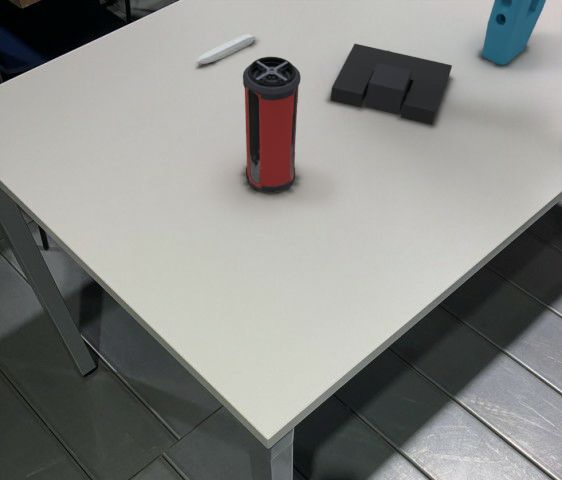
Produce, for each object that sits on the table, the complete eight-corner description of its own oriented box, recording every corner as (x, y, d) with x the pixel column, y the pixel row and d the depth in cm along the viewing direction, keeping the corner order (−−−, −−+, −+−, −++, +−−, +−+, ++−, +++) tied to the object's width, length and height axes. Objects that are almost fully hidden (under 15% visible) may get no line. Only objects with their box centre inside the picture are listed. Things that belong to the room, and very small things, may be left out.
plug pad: (406, 94, 109) (412, 70, 105) (398, 114, 106) (403, 90, 102) (374, 86, 110) (377, 62, 106) (364, 106, 107) (368, 82, 103)
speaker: (235, 176, 97) (230, 68, 82) (271, 154, 100) (272, 45, 85) (270, 202, 94) (271, 95, 79) (305, 178, 97) (313, 70, 82)
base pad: (448, 78, 112) (452, 65, 110) (431, 124, 105) (435, 111, 103) (352, 56, 114) (354, 43, 112) (330, 100, 108) (331, 87, 105)
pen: (193, 66, 112) (192, 58, 110) (252, 38, 117) (251, 29, 115) (198, 70, 111) (198, 61, 110) (257, 41, 116) (257, 33, 115)
